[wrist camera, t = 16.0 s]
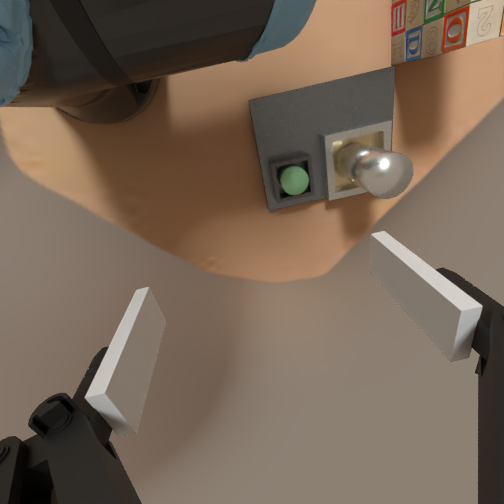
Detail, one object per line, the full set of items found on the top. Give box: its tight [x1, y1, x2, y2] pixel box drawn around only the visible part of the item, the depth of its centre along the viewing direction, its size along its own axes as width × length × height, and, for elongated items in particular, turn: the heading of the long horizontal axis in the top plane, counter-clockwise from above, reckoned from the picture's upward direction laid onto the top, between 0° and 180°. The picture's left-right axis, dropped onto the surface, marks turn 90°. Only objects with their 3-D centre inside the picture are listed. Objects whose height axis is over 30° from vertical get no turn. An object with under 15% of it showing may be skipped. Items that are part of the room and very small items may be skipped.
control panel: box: [248, 66, 395, 211], centre depth 37 cm, size 15×19×4 cm
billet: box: [337, 143, 413, 199], centre depth 34 cm, size 5×5×10 cm
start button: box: [278, 164, 309, 195], centre depth 37 cm, size 4×4×3 cm
